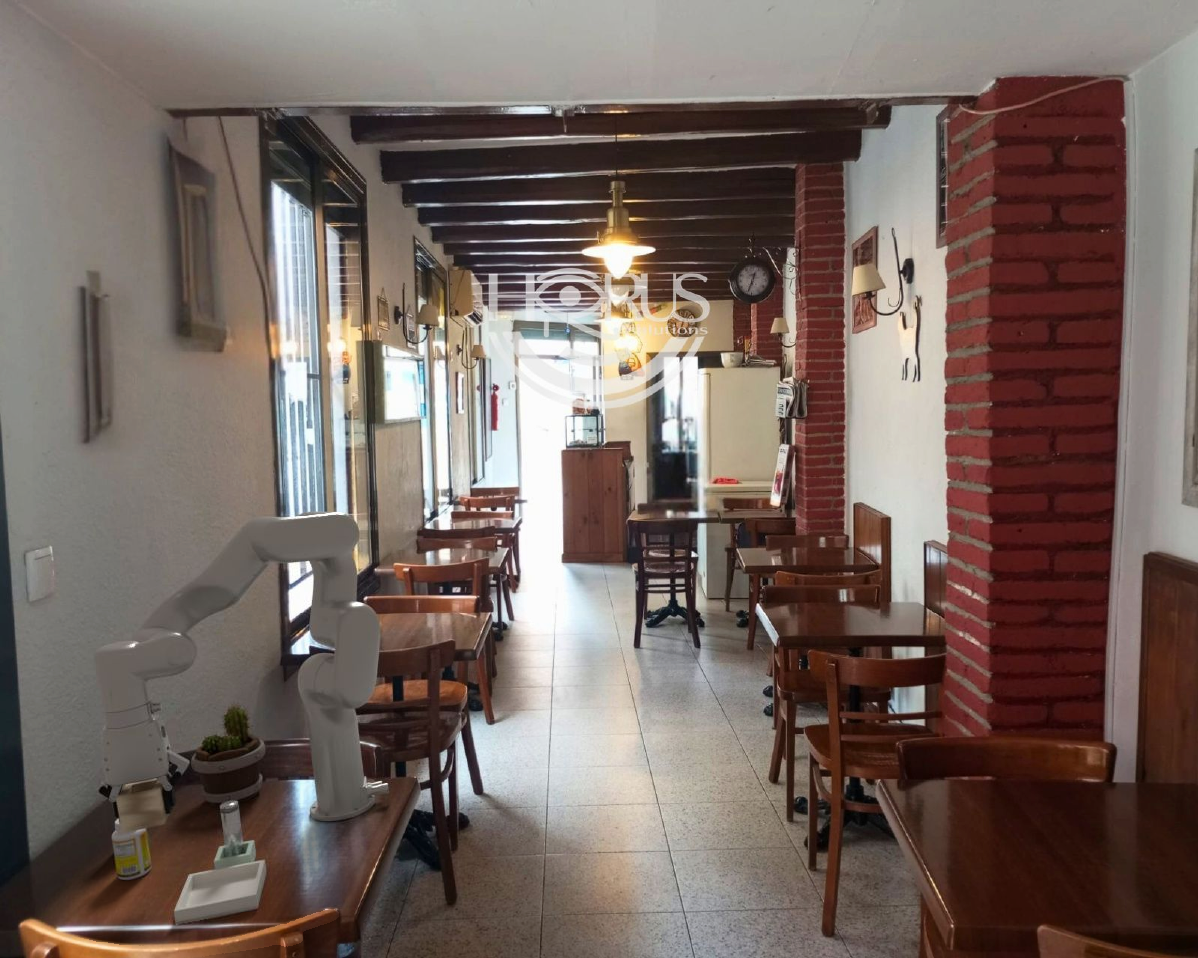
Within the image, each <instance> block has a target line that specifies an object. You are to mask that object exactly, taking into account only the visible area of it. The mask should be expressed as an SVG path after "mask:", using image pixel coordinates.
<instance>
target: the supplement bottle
mask: <svg viewBox="0 0 1198 958" xmlns="http://www.w3.org/2000/svg"><path fill="white" fill-rule="evenodd" d="M147 832H148V831H147ZM147 832H146V828H145V829H140V830H136V831H131V832H126V833H122V830H121V824H120V823H119V819H117V820H116V819H115V821H114V832H113V833H112V834H111V842H112V849H113V855H114V861H115V862H114V863H115V869H116V873H117V874H116V875H117V877H118V879H120V880H122V881H123V880H124V881H130V880H131V881H132V880H135V879H138V878H140V877H143V876H144V875H146V874H148V873H149V872H150V871H151V869H152V861H151V854H150V846H148V839H147Z"/></svg>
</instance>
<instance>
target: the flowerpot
mask: <svg viewBox="0 0 1198 958" xmlns="http://www.w3.org/2000/svg"><path fill="white" fill-rule="evenodd" d="M224 712H226V713H225V714H222V715H220V717H221V719H222V720H223V725H222V724H221V725H220V726H222V727H221V728H223V730H224V731H223V732H222V734H223V735H222V734H220V735H217V733H218V732H216V733H215V734H206V736H207V737H206V736H205V734H204V735H203V736H202V737H204V738H203V739H201V740H202V743H201V744H202V745H200V746H198V747H197V748H196V750H195V753H194V754H193V755H192V757H191V760H190V764H191V768H192V770H193V771H194V772H197V773H198V776H199V778H200V782H201V784H202V786H203V788H202V790H201V791H202V796H203V799H205V801H207V802H209V804H210V805H211V806H213V805H215V806H214V807H218V806H219V807H220V805H221V804H222V803H224V802H227V801H233V800H235V801H238V803H239V804H241V803H242V802H246V800H247V801H249V800H251V799H252V797H253V798H255V797H256V796H257V795H258V794H259V792H260V789H261V788H262V784H263V775H262V774H261V767H262V758H263V757H264V756H265V754H266V745H265V742H264V740H261V739H260V737H259V736H256V735H254V734H252V733H251V732H250V728H251V726H253V725H252V724H251V723H250V724H249V722H250V720H251V717H250V714H249V711H248V708H247V709H246V708H245V707H243V708H242V706H241V704H238V703H236V704H235V702H233V704H232V703H230V706H229V708H228V709H226V710H224ZM209 732H210V733H211V731H209ZM257 793H258V794H257ZM254 796H255V797H254ZM248 799H249V800H248Z"/></svg>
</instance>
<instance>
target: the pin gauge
mask: <svg viewBox="0 0 1198 958" xmlns="http://www.w3.org/2000/svg"><path fill="white" fill-rule="evenodd" d="M219 811H220V818H221V825H222V833H223V841H224V846H225V850H226V857H231V856H236V855H241V854H244V846H243V842H244V839H243V831H242V824H241V817H240V803H239V804H238V801H235V800H233V801H227V802H224V803H222V804H221V805H220V806H219Z"/></svg>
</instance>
